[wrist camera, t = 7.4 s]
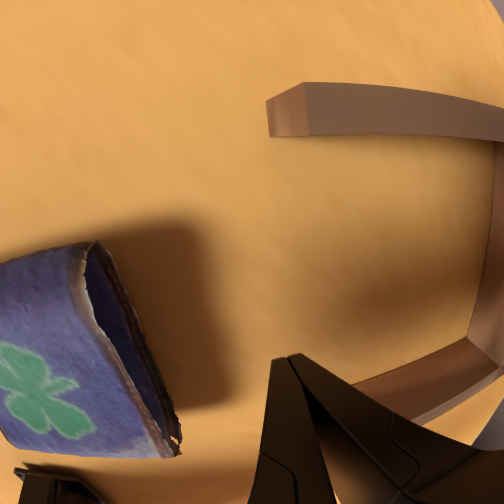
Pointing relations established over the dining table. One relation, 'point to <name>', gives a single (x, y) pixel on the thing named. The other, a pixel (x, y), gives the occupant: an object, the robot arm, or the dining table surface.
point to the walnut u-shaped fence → (499, 244)
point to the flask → (78, 360)
